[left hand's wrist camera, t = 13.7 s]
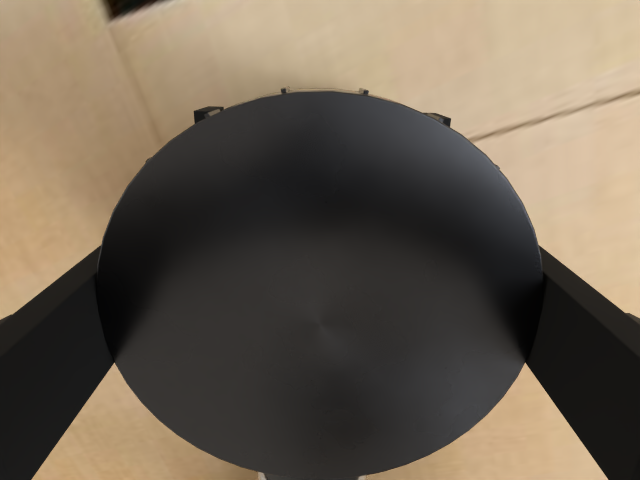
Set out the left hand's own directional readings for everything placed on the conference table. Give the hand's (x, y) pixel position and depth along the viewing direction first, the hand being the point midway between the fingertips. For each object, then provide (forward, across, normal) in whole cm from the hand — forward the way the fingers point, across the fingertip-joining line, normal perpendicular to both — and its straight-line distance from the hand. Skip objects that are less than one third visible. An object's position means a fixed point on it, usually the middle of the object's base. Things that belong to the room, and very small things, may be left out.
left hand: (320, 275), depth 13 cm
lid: (-2, 0, 0) cm, 2 cm away
